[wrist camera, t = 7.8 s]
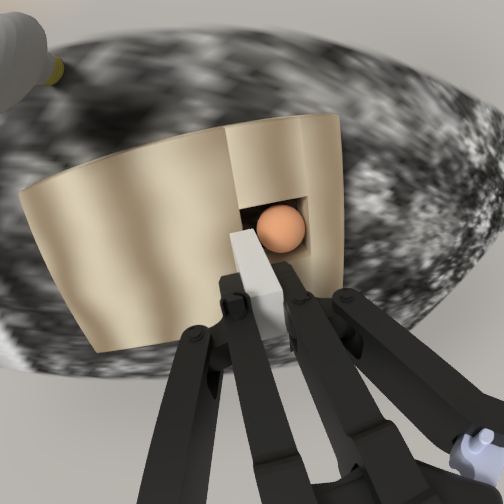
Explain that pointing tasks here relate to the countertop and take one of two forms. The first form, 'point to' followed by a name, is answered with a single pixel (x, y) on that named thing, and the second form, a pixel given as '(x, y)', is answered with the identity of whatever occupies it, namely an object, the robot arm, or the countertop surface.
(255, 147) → the wooden board with hole
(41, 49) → the light bulb
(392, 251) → the countertop surface
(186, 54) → the countertop surface
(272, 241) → the ball
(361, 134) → the countertop surface
